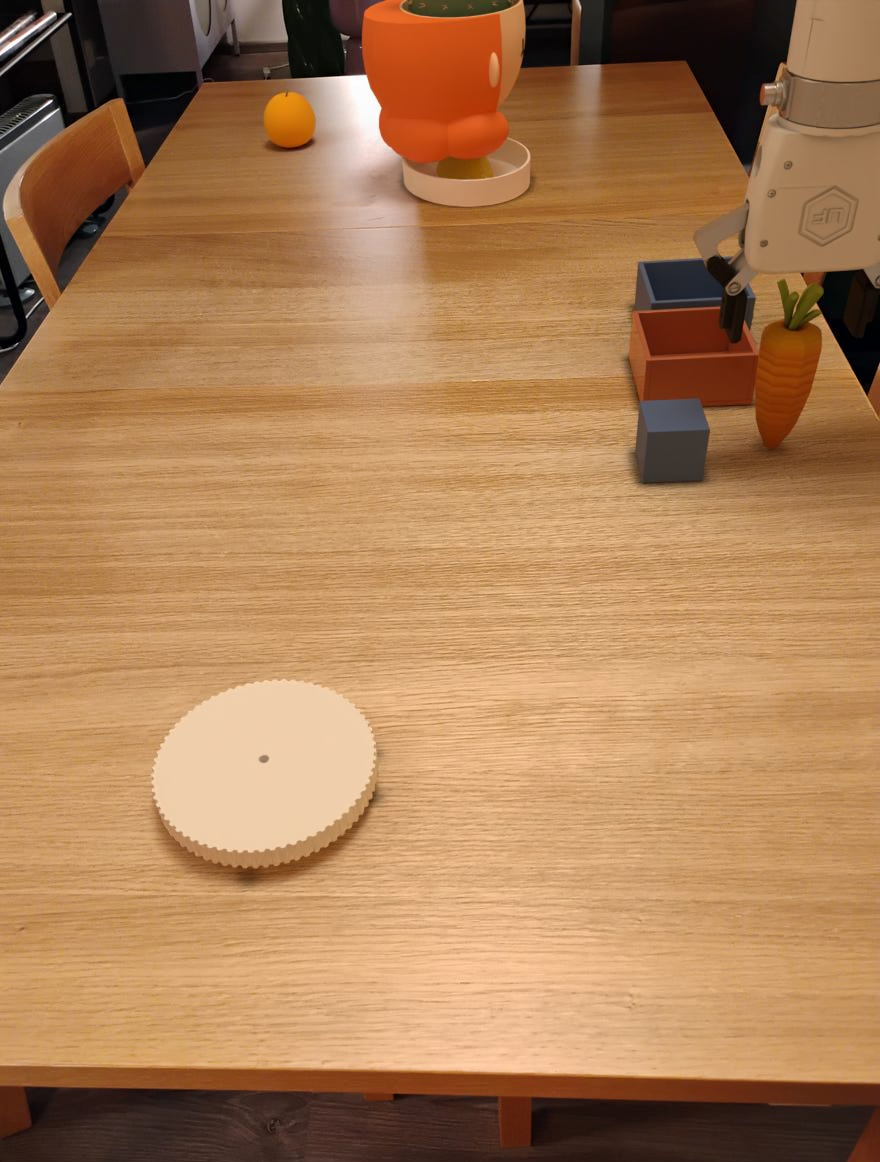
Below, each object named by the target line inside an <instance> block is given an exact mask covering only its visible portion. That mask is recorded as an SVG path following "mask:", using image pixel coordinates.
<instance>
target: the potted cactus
mask: <svg viewBox="0 0 880 1162" xmlns="http://www.w3.org/2000/svg"><path fill="white" fill-rule="evenodd" d="M526 26H527V25H526V11H525V6H524V0H382V1H379V2H377V3H375V4H373V5H370V6H369V7H368V8H367V9H365V10H364V13H363V18H362V27H361V28H362V30H361V49H362V50H361V51H362V52H361V53H362V60H363V66H364V72H365V75H366V78H367V82H368V85H369V89H370V90H371V92H372V94H373V96H374V97H375V99H376V101H377V103H378V104H379V107H380V112H379V116H378V128H379V130H378V131H379V134H380V136H381V139H382V141H383V142H384V143H385V144H386V146H388V147H389V148H391V149H392V151H393V152H394V153H396V154H397V155H399V156H400V157H401V161H402V173H403V174H402V175H403V184H404V186H405V188H406V190H407V191H408V192H410V193H411V194H413V195H414V196H415V197H417V198H420V199H421V200H424V201H427V202H430V203H434V204H438V205H444V206H448V207H449V206H451V207H463V208H471V207H473V208H474V207H475V208H476V207H485V206H486V207H487V206H493V205H497V204H502V203H506V202H509V201H511V200H514V199H516V198H518V197H520V196H521V195H523V194H524V193H525V192H526V191H527V190H528V189H529V187H530V185H531V152H530V150H529V149H528V148H527V147H526V146H525V145H524V144H523V143H521V142H520V141H517V140H516V139H513V138H511V137H508V136H509V134H510V126H509V122H508V120H507V118H506V117H505V115H503V113H501V112H500V111H498V109H499V108H500V107H501V105H502V104H503V103H504V102H505V101H506V99H507V98H508V96H509V94H510V93H511V92H512V91H513V88H514V86H515V84H516V81H517V79H518V76H519V74H520V70H521V67H522V63H523V59H524V57H525V44H526V28H527V27H526Z"/></svg>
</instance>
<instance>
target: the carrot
mask: <svg viewBox="0 0 880 1162" xmlns="http://www.w3.org/2000/svg"><path fill="white" fill-rule="evenodd" d="M776 283H777V288H778V292H779V294H780V299H781V304H782V309H783V313H784V314H783V316H784V318H781V319H780V320H776V321H773V322H771V323H769V324H767V325H765V326H764V328H763V330H762V332H761V336H760V343H759V349H758V351H759V356H758V364H757V373H756V383H755V389H754V406H755V407H754V408H755V420H756V425H757V429H758V433H759V436H760V438H761V440H762V443H763V446H765V447H766V448H767V449H768V450H770V451H771V450H774V449H775V448H777V447H778V446H779V445H781V443H783V441H784V440H785V439H786V438H787V437H788V436H789V434H790V433H791V432H792V430H793V429H794V428H795V426H796V424H797V423H798V421H799V419H800V417H801V415H802V413H803V410H804V408H805V405H806V404H807V401H808V399H809V396H810V394H811V390H812V388H813V384H814V381H815V377H816V373H817V369H818V366H819V362H820V357H821V355H822V348H823V333H822V329H821V328H820V327H819V326H818V325H815V324H814V323H812V322H811V321H812V320H814V319H816V318H817V317H820V316H821V315H822V313H823V312H822V311H821V310H820V309H816V308H815V309H812V308H813V307H814V306H815V305H816V304H817V302H818V301H819V300H820V299H821V298H822V296H824V288H823V286H822V285H820V284H816V283H810V284H809V285H807V287H806V288H805V289H804V290H803V291H802V294H801V296H800V294H799V292H798V291H793V292H791V293H790V289H789V286H788V283H787V281H786V279H785V278H783V279H780V280H778V281H776ZM811 309H812V310H811Z"/></svg>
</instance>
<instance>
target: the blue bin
mask: <svg viewBox="0 0 880 1162" xmlns="http://www.w3.org/2000/svg"><path fill="white" fill-rule="evenodd" d="M734 256H735V255H732V256H722V257H723V258H724V259H725V260H726V261H727V263H728V262H729V261H730V260H731V259H732V258H733V257H734ZM744 290H745V292H746V294H747V298H748V299H747V306H746V312H745V318H744V320H745V322H746V324H747V327H748V329H749V331H750V332H751V330H752V325H753V318H754V311H755V305H756V299H757V297H756V295H755V293H754V291H753V289H752V287H751V285H750V283H749V284H748V285H747V286H746V287H745V288H744ZM722 293H723V287H722V286H721V285H720V283H719V282H718V281H717V280H716V279H715V278H714V277H713V276H712V275H711V274H710V273H709V272H708V270H707V268H706V266H705V263H704V261H703V259H702V257H696V258H695V257H694V258H680V259H679V258H678V259H677V258H676V259H661V260H659V259H658V260H641V261H640V260H639V261H637V272H636V282H635V293H634V294H635V296H634V305H633V306H634V311H645V310H664V309H683V308H702V307H721V300H722Z"/></svg>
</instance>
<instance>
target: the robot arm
mask: <svg viewBox="0 0 880 1162" xmlns="http://www.w3.org/2000/svg"><path fill="white" fill-rule="evenodd" d="M786 60H787V61H786V66H785V67H782V70H781V71H782V72H781V75H780V76H779V79H778V80H773V82H771V83H762V85H761V88H760V91H759V92H760V93H759V104H760V106H770V107H772V108H776V110H777V111H778V113H775V114H772V115H770V116H769V117H768V119H767V122H766V125H765V127H764V130H763V133H762V135H761V139H760V141H759V145H758V148H757V151H756V154H755V157H754V161H753V164H752V167H751V171H750V175H749V179H748V182H747V187H746V190H745V191H746V192H745V196H744V200H743V204H741V205H739V206H738V207H736V208H734V209H732V210H731V211H729V212H727V213H725V214H723V215H721V216H719V217H718V218H716V219H714V220H713V221H711V222H709V223H707V224H706V225H704V226H702V227H700V228H698V229H697V230H696V231H694V233H693V235H692V239H693V241H694V244H695V246H696V248H697V250H698V252H699V255H700V258H702V259H703V261H704V263H705V266H706V268H707V270H708V272H709V273H710V274H711V275H712V276H713V277H714V278H715V279H716V280H717V281H718V282H719V283H720V285H721V286H722V287H723V293H722V300H721V307H720V313H719V326H720V328H721V329H725V331H726V333H727V336H728V338H729V341H730V343H731V344H732V343H738V341H741V337H742V330H743V324H744V318H745V312H746V306H747V299H748V298H747V294H746V292H745V290H744V288H745V287H746V286H747V285H748V284H749V285H750V283H751V282H752V281H753V279H755V277H757V275H759V273H760V274H767V275H784V274H805V273H806V274H807V273H824V272H825V273H826V272H841V271H843V272H844V271H857V270H860V271H859V272H855V275H854V276H852V280H851V285H850V288H849V293H848V297H847V301H846V304H845V305H846V306H845V311H844V313H843V319H842V320H843V323H844V325H845V326H846V328H847V330H848V331H849V333H850V334H851V336H852V337H854V338H855V339H859V338H863V337H864V335H865V332H866V327H867V325H868V323H872V322H873V319H874V316H875V311H876V308H877V303H878V300H879V295H880V0H796V3H795V10H794V16H793V23H792V27H791V35H790V41H789V47H788V54H787V58H786ZM737 233H738V235H737V241H738V242H737V243H738V246H739V248H740V249H739V250H738V251H737V252H736V253H735V254H734V255H733V256H734V257H733V258H732V259H731V260H730V261H729V262H728V263H727V261H726V260H725V259H724V258H723V257H724V256H722V255H721V254H720V253H719V251H718V247H719V244H720V243H722V242H723V241H725V240H727V239H728V238H731V237H732V236H734V235H735V234H737Z"/></svg>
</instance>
